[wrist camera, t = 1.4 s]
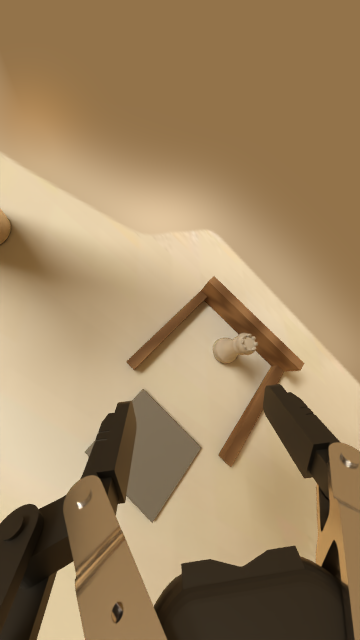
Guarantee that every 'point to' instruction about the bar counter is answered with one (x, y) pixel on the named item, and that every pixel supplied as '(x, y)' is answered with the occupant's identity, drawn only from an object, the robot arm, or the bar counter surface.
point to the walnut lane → (241, 323)
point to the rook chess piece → (234, 347)
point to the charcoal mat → (156, 456)
